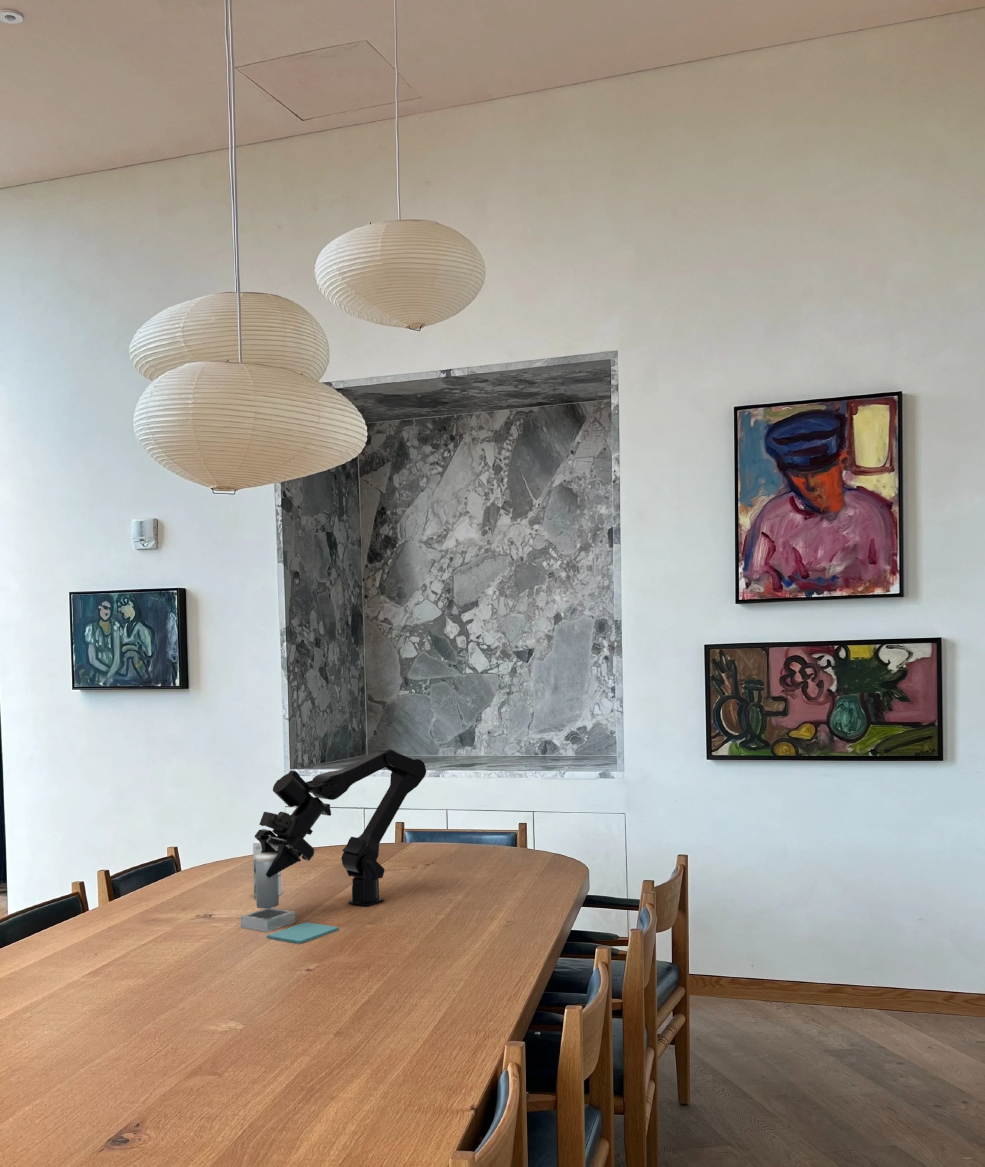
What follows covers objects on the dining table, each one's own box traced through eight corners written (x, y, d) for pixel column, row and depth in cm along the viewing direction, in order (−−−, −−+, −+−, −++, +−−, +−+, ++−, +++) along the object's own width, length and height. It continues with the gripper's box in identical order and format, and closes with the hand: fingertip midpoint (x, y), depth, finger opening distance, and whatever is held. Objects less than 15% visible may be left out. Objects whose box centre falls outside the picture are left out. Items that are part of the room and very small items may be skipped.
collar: (268, 918, 233) (268, 907, 233) (295, 922, 228) (294, 911, 229) (240, 927, 226) (240, 916, 226) (267, 931, 221) (267, 920, 221)
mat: (306, 924, 226) (305, 922, 226) (338, 930, 221) (338, 927, 221) (266, 938, 216) (266, 935, 216) (300, 944, 211) (300, 941, 211)
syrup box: (282, 893, 258) (281, 837, 259) (275, 899, 252) (273, 841, 253) (261, 894, 259) (260, 837, 260) (253, 899, 253) (252, 841, 254)
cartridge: (268, 901, 231) (267, 851, 232) (283, 904, 228) (282, 853, 229) (251, 906, 227) (250, 855, 228) (267, 909, 224) (266, 857, 225)
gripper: (261, 794, 239) (219, 848, 231) (301, 801, 225) (258, 858, 217) (290, 823, 244) (250, 877, 235) (331, 831, 230) (290, 888, 221)
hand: (261, 874), depth 227 cm, fingers closed on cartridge, 5 cm apart
